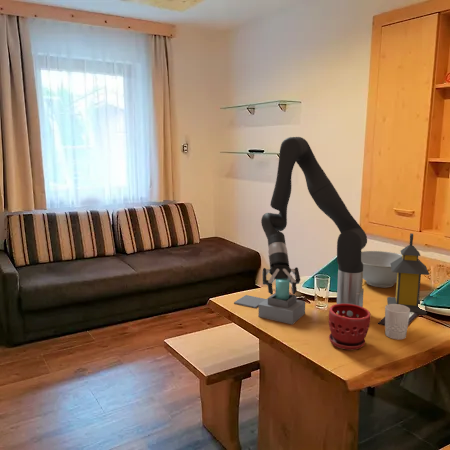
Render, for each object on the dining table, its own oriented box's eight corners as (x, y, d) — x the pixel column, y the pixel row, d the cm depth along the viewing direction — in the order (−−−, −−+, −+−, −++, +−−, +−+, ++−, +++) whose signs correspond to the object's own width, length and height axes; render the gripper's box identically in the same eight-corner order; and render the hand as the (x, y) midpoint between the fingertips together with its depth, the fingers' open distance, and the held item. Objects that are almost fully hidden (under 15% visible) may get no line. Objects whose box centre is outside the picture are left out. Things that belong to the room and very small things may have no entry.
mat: (266, 300, 189) (266, 299, 189) (255, 308, 181) (255, 306, 181) (245, 296, 194) (245, 294, 194) (234, 303, 186) (234, 302, 186)
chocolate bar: (377, 322, 165) (394, 308, 179) (377, 325, 165) (394, 310, 179) (402, 329, 160) (418, 313, 173) (402, 331, 160) (418, 315, 174)
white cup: (396, 342, 151) (398, 314, 149) (378, 333, 158) (380, 306, 156) (412, 337, 154) (415, 309, 152) (394, 328, 161) (396, 302, 159)
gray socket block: (304, 313, 175) (305, 295, 174) (292, 324, 165) (292, 305, 164) (272, 306, 182) (272, 288, 181) (258, 316, 172) (258, 298, 171)
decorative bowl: (376, 271, 228) (378, 248, 226) (423, 286, 206) (425, 260, 203) (337, 280, 215) (339, 255, 212) (383, 297, 192) (385, 270, 190)
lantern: (388, 311, 177) (393, 236, 171) (387, 298, 191) (391, 229, 185) (427, 315, 173) (433, 238, 167) (423, 302, 186) (429, 231, 181)
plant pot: (334, 354, 143) (335, 318, 141) (323, 336, 156) (324, 303, 153) (374, 353, 144) (377, 317, 141) (360, 335, 156) (362, 302, 154)
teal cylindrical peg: (291, 302, 174) (291, 279, 172) (285, 306, 169) (286, 283, 168) (278, 299, 176) (279, 277, 175) (273, 303, 172) (273, 281, 170)
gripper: (261, 251, 176) (265, 289, 167) (297, 251, 177) (303, 288, 168) (259, 261, 182) (263, 298, 173) (294, 260, 183) (299, 297, 174)
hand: (282, 293), depth 171 cm, fingers open, 8 cm apart
